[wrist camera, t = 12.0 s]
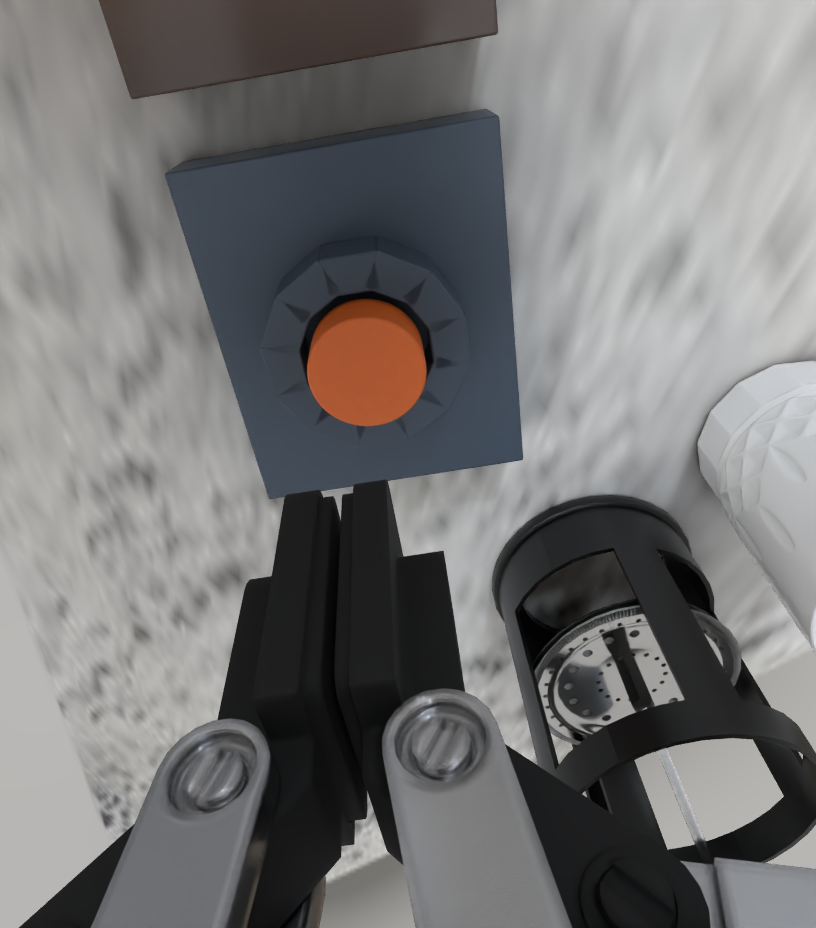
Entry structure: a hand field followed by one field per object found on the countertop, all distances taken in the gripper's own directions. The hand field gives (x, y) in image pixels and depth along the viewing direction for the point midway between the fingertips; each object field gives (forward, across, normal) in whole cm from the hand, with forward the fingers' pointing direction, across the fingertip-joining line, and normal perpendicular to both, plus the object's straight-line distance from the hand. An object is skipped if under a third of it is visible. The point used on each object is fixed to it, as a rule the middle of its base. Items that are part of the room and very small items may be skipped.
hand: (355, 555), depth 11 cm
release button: (+11, 0, +2) cm, 12 cm away
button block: (+15, 0, +2) cm, 15 cm away
